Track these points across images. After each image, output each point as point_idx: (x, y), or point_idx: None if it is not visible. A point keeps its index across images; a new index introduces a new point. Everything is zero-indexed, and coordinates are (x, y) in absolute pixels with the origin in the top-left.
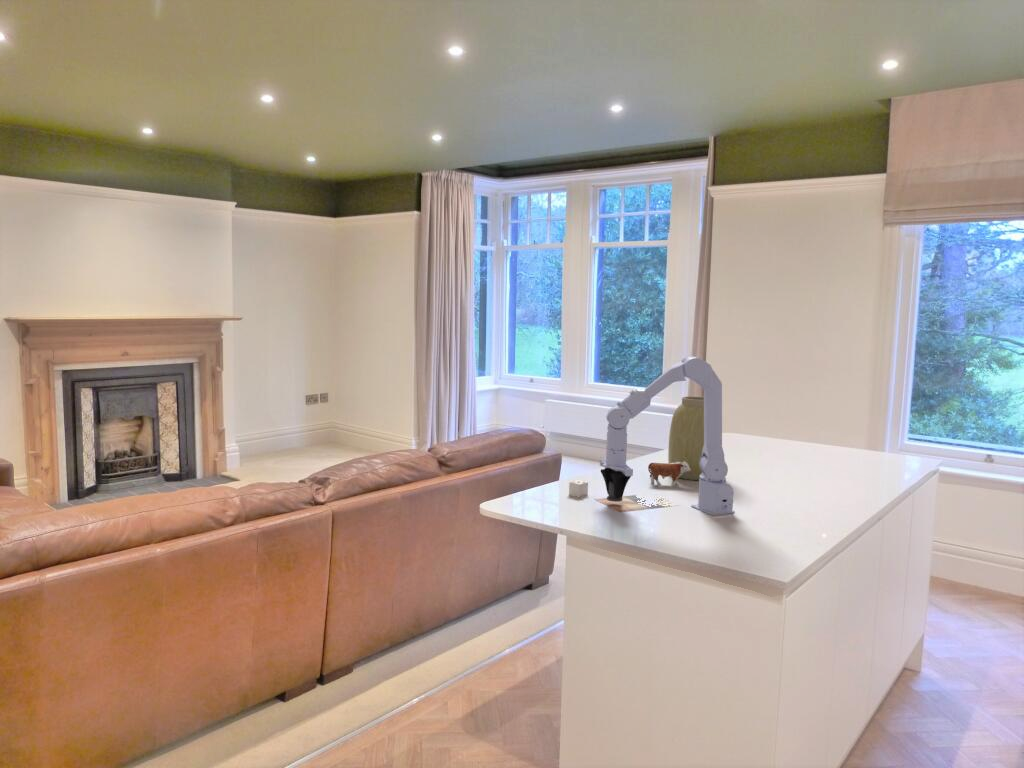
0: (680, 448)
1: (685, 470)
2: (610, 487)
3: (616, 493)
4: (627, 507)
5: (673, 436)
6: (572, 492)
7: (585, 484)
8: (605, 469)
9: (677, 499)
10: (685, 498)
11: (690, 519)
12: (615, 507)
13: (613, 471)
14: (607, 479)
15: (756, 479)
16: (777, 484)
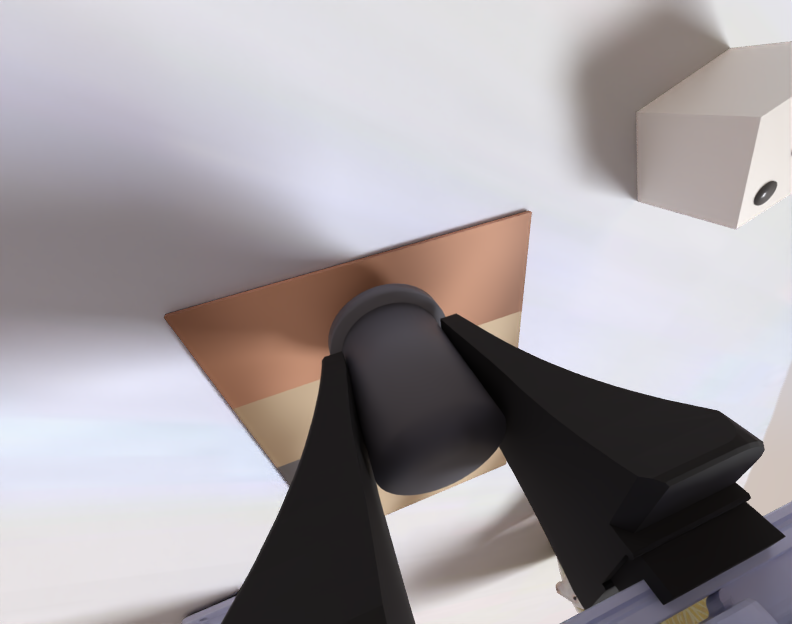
0: (677, 619)
1: (566, 580)
2: (406, 376)
3: (321, 386)
4: (302, 375)
5: None
6: (725, 68)
7: (726, 198)
8: (712, 493)
9: (419, 522)
10: (424, 535)
11: (93, 587)
12: (304, 307)
13: (589, 551)
14: (527, 408)
15: (515, 592)
16: (473, 616)
